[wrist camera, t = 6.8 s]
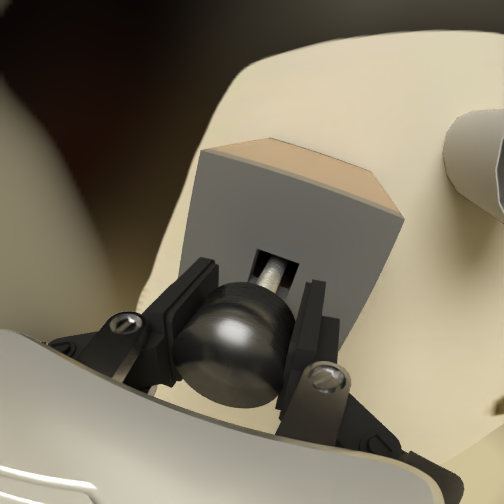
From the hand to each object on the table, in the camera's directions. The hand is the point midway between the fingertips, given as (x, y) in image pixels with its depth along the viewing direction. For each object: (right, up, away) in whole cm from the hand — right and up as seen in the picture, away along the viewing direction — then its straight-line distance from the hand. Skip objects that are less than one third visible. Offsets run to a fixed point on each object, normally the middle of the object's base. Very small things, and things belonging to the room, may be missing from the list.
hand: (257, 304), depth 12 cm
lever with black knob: (+4, +5, +11) cm, 13 cm away
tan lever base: (+4, +5, +15) cm, 17 cm away
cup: (+20, +10, +8) cm, 24 cm away
